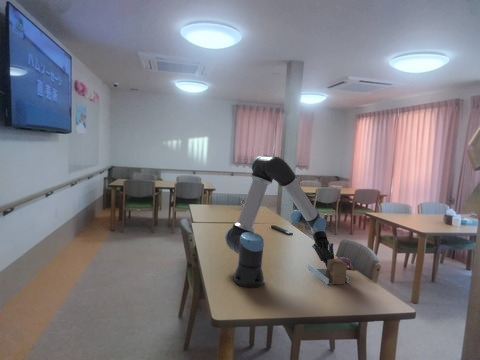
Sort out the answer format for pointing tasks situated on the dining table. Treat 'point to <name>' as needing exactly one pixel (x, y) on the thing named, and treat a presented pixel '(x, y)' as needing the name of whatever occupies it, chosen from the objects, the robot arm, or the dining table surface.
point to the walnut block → (336, 271)
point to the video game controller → (346, 261)
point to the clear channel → (322, 274)
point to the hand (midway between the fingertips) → (331, 272)
